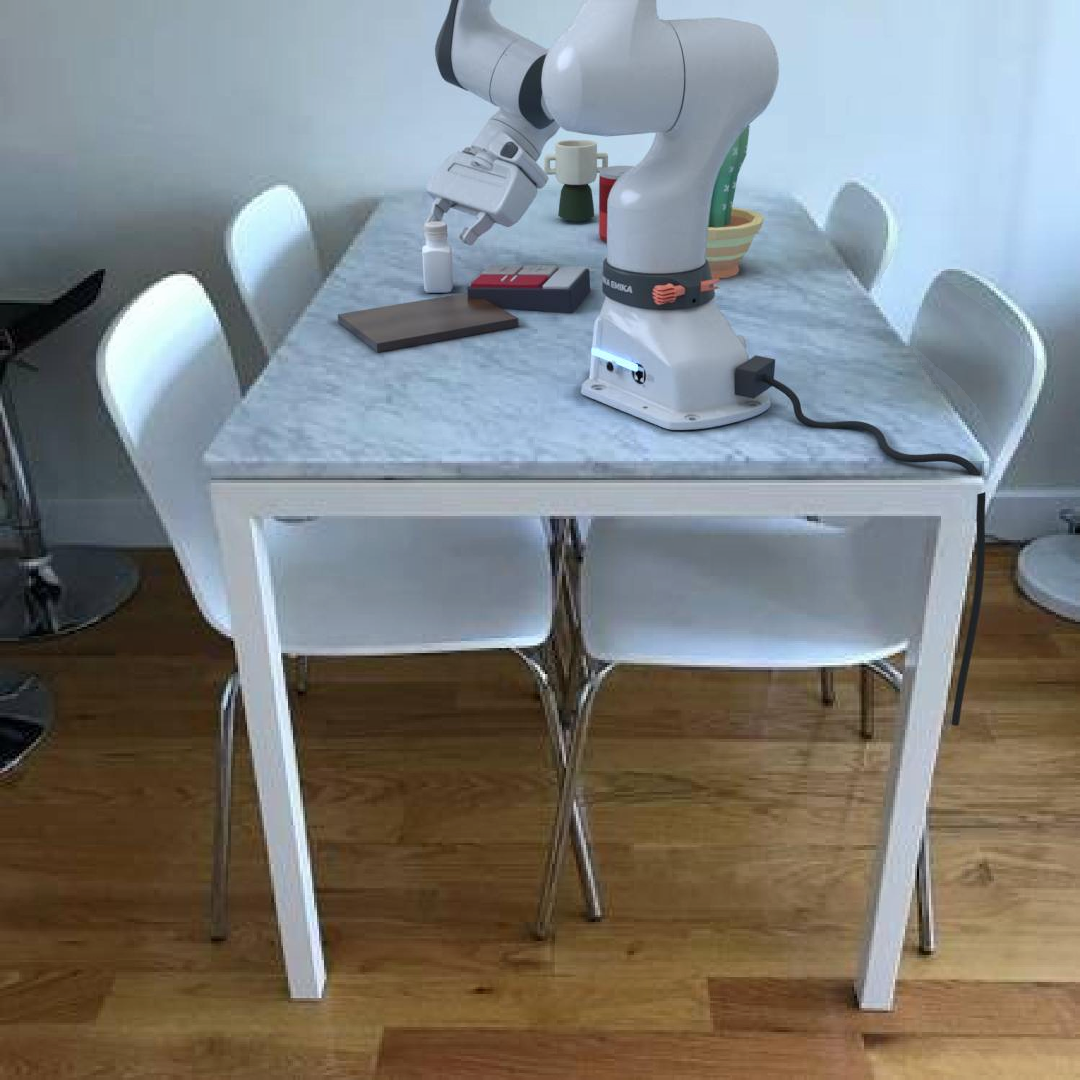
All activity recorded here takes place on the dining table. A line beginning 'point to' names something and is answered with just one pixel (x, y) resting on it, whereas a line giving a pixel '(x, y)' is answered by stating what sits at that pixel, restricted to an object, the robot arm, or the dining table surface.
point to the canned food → (607, 193)
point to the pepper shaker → (437, 259)
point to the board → (426, 321)
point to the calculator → (533, 287)
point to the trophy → (576, 176)
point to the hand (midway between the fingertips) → (446, 235)
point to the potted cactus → (730, 216)
